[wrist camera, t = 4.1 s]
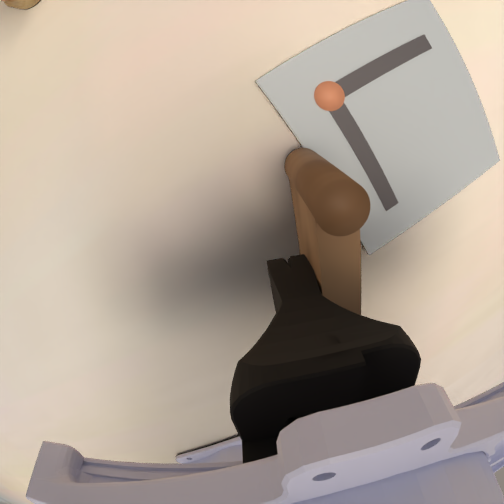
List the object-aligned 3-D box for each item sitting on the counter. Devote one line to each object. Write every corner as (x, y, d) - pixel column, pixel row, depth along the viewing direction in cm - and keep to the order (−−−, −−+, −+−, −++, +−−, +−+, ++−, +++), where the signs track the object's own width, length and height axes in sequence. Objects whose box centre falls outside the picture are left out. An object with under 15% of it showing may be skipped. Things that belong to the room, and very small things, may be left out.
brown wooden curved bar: (337, 382, 17) (358, 452, 13) (311, 388, 17) (327, 460, 13) (321, 145, 11) (375, 178, 7) (279, 151, 11) (308, 188, 7)
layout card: (366, 252, 14) (369, 256, 14) (254, 81, 11) (255, 80, 10) (496, 158, 12) (500, 160, 12) (422, -6, 9) (426, -7, 8)
